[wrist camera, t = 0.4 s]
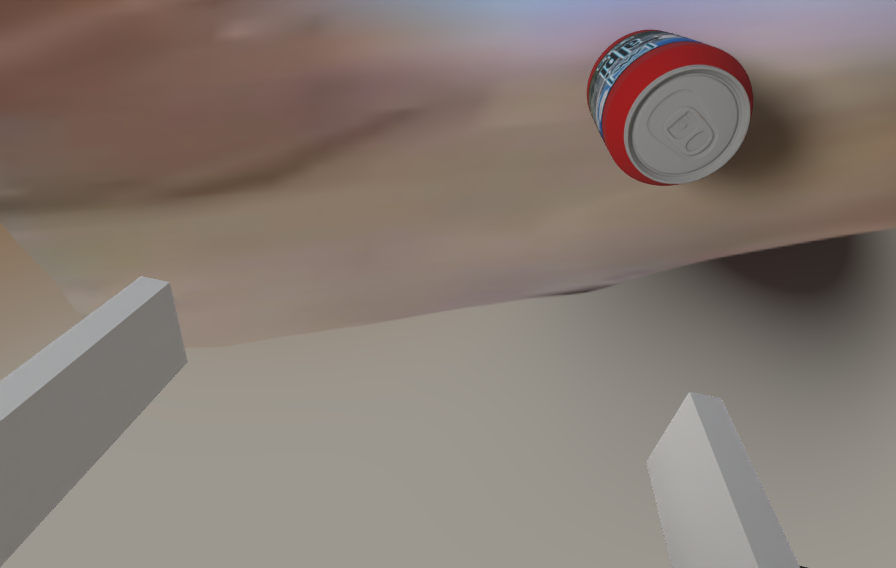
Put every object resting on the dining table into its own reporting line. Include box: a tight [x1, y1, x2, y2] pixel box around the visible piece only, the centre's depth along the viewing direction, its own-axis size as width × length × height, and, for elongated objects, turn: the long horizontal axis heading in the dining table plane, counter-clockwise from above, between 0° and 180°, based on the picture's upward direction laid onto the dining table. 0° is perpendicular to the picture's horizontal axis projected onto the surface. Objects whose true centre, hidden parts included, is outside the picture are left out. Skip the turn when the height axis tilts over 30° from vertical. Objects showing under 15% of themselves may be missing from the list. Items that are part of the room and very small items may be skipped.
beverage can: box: [587, 30, 753, 186], centre depth 27 cm, size 7×7×12 cm
